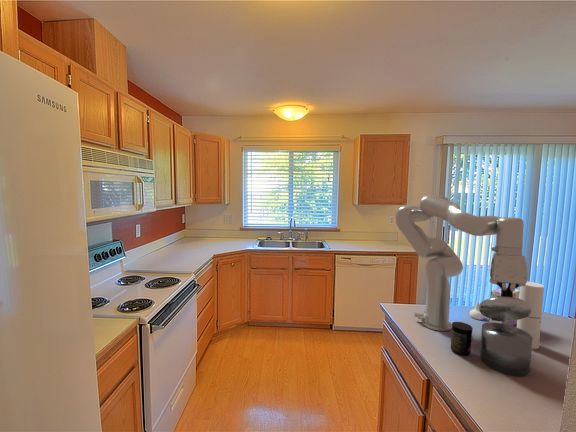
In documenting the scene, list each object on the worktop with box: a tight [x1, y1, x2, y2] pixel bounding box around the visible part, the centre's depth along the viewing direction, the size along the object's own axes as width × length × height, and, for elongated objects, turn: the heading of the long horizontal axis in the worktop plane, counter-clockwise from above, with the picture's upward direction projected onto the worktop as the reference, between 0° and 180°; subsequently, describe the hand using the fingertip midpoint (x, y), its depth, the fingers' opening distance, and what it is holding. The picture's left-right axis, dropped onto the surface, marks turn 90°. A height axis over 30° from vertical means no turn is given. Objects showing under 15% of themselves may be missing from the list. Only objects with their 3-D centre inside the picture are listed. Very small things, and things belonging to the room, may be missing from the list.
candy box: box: [488, 288, 520, 327], centre depth 127 cm, size 14×6×16 cm, turn 110°
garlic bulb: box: [469, 301, 486, 321], centre depth 134 cm, size 6×6×8 cm
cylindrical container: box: [516, 280, 545, 350], centre depth 110 cm, size 7×7×25 cm
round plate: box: [479, 296, 531, 322], centre depth 100 cm, size 16×15×3 cm
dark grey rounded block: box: [479, 321, 533, 378], centre depth 98 cm, size 14×14×12 cm
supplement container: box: [450, 321, 473, 357], centre depth 105 cm, size 7×7×10 cm
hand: (506, 300), depth 101 cm, fingers closed
